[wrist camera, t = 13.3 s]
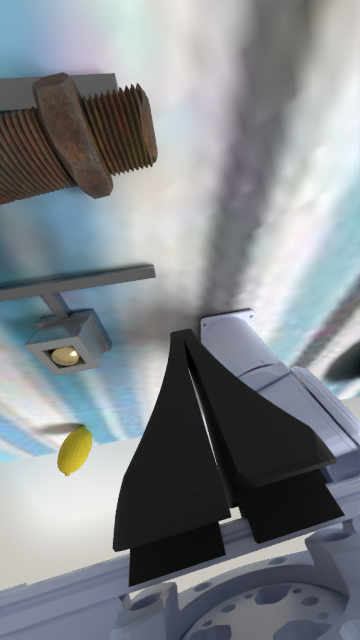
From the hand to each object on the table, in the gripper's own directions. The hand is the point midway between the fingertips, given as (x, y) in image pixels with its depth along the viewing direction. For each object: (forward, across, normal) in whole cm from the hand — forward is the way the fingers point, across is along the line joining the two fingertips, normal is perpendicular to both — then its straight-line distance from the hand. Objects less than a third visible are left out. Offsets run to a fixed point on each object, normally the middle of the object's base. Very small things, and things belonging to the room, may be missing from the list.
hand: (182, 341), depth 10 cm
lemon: (+9, +25, +30) cm, 40 cm away
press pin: (+8, +12, +4) cm, 15 cm away
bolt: (+10, +7, -10) cm, 16 cm away
